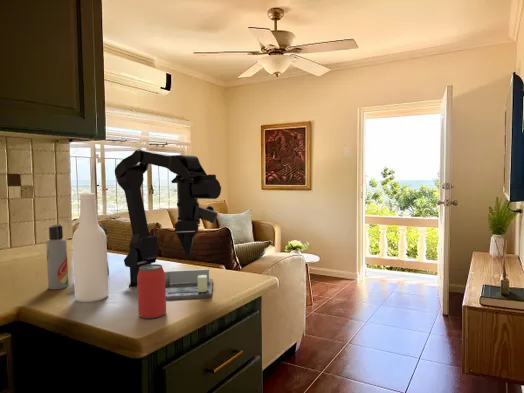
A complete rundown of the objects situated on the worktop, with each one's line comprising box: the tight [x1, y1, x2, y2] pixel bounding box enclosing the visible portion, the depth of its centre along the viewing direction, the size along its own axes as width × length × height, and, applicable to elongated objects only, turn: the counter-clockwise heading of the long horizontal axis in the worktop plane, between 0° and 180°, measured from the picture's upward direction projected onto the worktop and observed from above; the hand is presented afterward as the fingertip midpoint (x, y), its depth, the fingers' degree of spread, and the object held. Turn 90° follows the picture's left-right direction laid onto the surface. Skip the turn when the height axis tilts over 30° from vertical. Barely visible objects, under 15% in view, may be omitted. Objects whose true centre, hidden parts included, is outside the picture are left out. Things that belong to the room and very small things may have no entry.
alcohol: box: [71, 192, 109, 303], centre depth 107 cm, size 9×9×30 cm
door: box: [164, 268, 210, 284], centre depth 117 cm, size 14×2×4 cm, turn 96°
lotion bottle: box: [45, 223, 69, 290], centre depth 120 cm, size 6×6×20 cm
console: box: [165, 278, 214, 301], centre depth 112 cm, size 15×16×1 cm
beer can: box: [136, 263, 167, 320], centre depth 93 cm, size 7×7×12 cm
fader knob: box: [197, 275, 207, 292], centre depth 108 cm, size 2×3×4 cm
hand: (189, 251), depth 110 cm, fingers open, 9 cm apart
